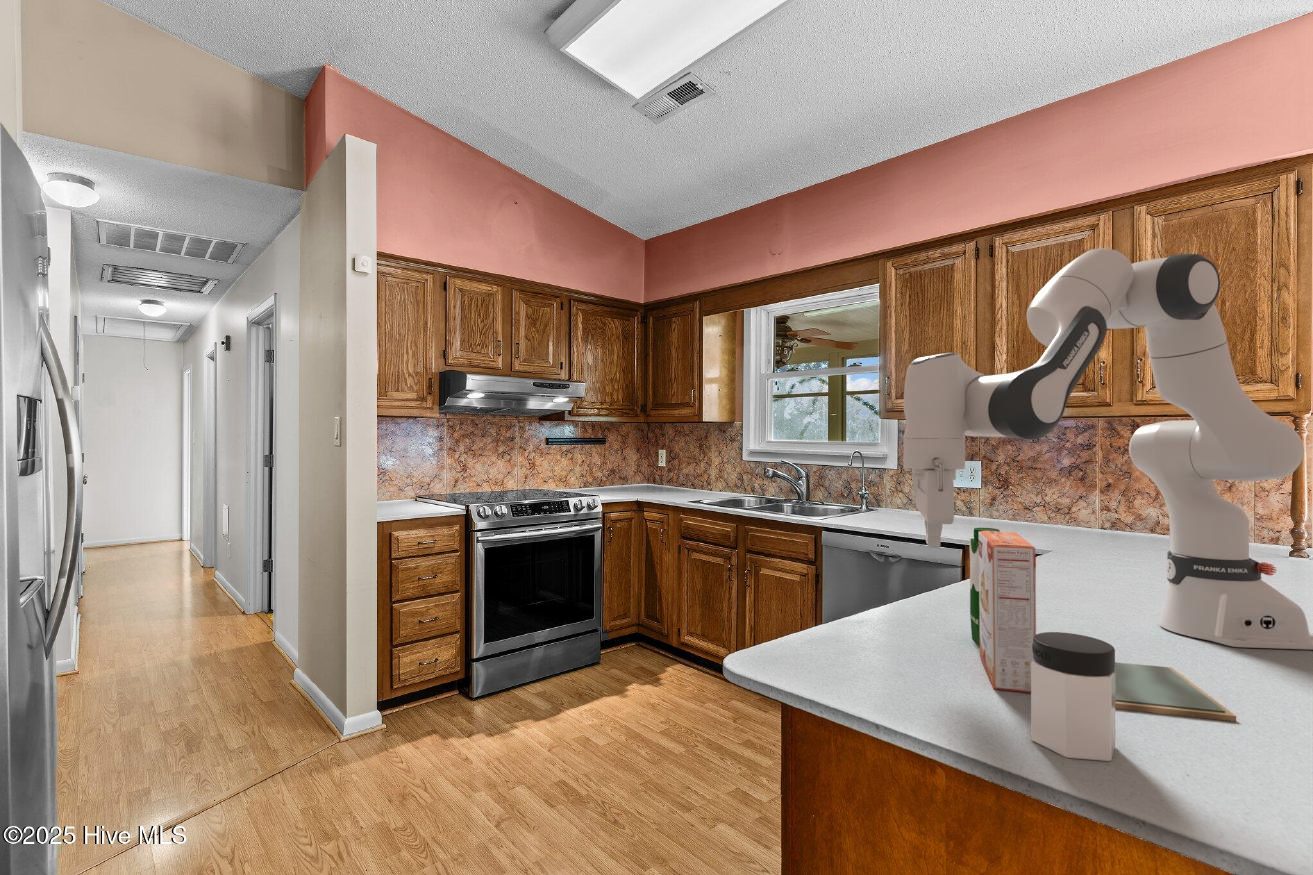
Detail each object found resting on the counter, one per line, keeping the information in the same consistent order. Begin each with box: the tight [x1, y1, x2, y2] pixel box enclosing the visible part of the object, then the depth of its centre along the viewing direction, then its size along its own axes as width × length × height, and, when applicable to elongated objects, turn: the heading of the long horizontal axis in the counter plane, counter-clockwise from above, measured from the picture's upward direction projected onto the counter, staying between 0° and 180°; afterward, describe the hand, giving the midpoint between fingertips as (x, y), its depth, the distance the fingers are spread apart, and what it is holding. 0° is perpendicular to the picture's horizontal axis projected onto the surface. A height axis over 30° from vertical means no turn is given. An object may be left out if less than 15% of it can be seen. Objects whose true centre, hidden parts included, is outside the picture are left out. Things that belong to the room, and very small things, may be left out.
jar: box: [1030, 631, 1116, 762], centre depth 76 cm, size 9×8×12 cm
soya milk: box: [968, 527, 1001, 647], centre depth 112 cm, size 9×9×20 cm
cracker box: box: [979, 531, 1037, 694], centre depth 98 cm, size 14×6×21 cm, turn 160°
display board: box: [1115, 661, 1237, 722], centre depth 93 cm, size 20×18×1 cm
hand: (933, 546), depth 101 cm, fingers closed
